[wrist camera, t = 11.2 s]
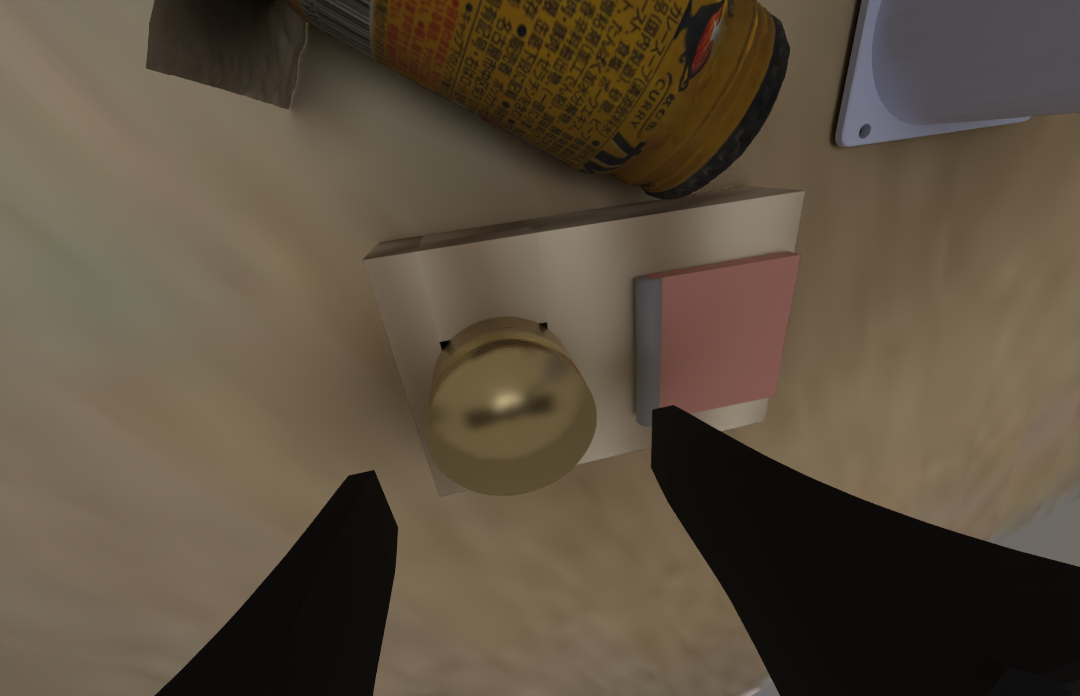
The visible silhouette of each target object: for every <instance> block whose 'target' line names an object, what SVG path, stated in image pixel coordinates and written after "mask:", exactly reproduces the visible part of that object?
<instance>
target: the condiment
mask: <svg viewBox="0 0 1080 696" xmlns="http://www.w3.org/2000/svg"><path fill="white" fill-rule="evenodd" d="M307 22H308V23H309V24H310V25H311V26H313V27H315V28H318V29H320V30H322V31H324V32H326V33H327V34H329V35H331V36H333V37H336V38H338V39H339V40H341V41H343V42H344V43H346V44H348V45H350V46H351V47H353V48H355V49H356V50H358V51H360V52H361V53H363V54H365V55H366V56H368V57H370V58H372V59H374V60H377V61H379V62H381V63H383V64H385V65H387V66H388V67H390V68H391V69H392V70H394V71H395V72H397V73H399V74H401V75H403V76H405V77H407V78H409V79H411V80H413V81H416V82H417V83H418V84H419V85H420V86H421V87H423V88H425V89H428V90H434V91H436V92H437V93H439V94H440V95H442V96H443V97H445V98H447V99H449V100H451V101H452V102H454V103H456V104H458V105H459V106H461V107H463V108H466V109H468V110H470V111H471V112H473V113H475V114H477V115H479V116H481V117H482V118H483V119H484V120H486V121H487V122H491V123H494V124H495V125H497V126H499V127H501V128H503V129H504V130H506V131H508V132H510V133H512V134H513V135H515V136H517V137H519V138H521V139H522V140H524V141H527V142H528V143H529V144H530V145H531V146H533V147H536V148H538V149H541V150H542V151H544V152H546V153H548V154H550V155H551V156H553V157H555V158H557V159H559V160H561V161H563V162H564V163H566V164H568V165H570V166H571V167H572V168H573V169H577V170H579V171H581V172H584V173H586V174H603V173H611V174H612V175H613V176H615V177H616V178H618V179H619V180H621V181H622V182H624V183H626V184H631V185H638V186H640V187H641V188H642V189H643V190H644V191H645V193H646V194H648V195H650V196H653V197H656V198H661V199H665V200H670V199H679V198H682V197H684V196H686V195H689V194H691V193H692V192H694V191H697V190H698V189H700V188H702V187H703V186H705V185H706V184H708V183H709V182H710V181H711V180H713V179H714V178H716V177H717V176H718V175H719V174H721V173H722V172H723V171H725V170H726V169H727V168H728V167H729V166H730V165H731V164H732V163H733V162H734V161H735V160H736V159H737V158H739V157H740V156H741V155H742V154H743V152H744V151H745V149H746V148H747V147H748V145H749V144H750V143H751V142H752V140H753V139H754V138H755V136H756V135H757V134H758V132H759V131H760V129H761V127H762V126H763V124H764V122H765V121H766V119H767V117H768V116H769V114H770V112H771V110H772V107H773V105H774V102H775V101H776V99H777V96H778V93H779V91H780V88H781V85H782V82H783V80H784V78H785V74H786V70H787V64H788V58H789V53H790V47H789V44H788V42H787V39H786V35H785V32H784V29H783V26H782V23H781V21H780V20H779V19H777V18H776V17H775V16H773V15H771V14H770V13H769V12H768V11H767V10H766V8H764V7H762V6H761V5H760V4H759V3H758V2H757V0H155V1H154V6H153V10H152V14H151V18H150V22H149V38H148V53H147V62H146V68H147V69H150V70H154V71H158V72H161V73H164V74H168V75H175V76H178V77H181V78H184V79H188V80H192V81H195V82H199V83H202V84H205V85H210V86H212V87H217V88H220V89H224V90H227V91H230V92H233V93H236V94H240V95H244V96H247V97H250V98H253V99H256V100H260V101H262V102H266V103H270V104H274V105H276V106H279V107H282V108H285V109H289V107H290V103H291V97H292V92H293V90H294V88H295V85H296V80H297V70H298V60H299V56H300V52H301V51H302V49H303V46H304V43H305V37H306V32H305V31H306V23H307Z"/></svg>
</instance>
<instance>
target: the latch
mask: <svg viewBox="0 0 1080 696" xmlns="http://www.w3.org/2000/svg"><path fill="white" fill-rule="evenodd" d="M800 256H801V255H800V254H797V253H793V252H790V251H786V252H780V253H774V254H768V255H762V256H756V257H750V258H744V259H738V260H732V261H726V262H720V263H714V264H708V265H702V266H696V267H690V268H684V269H678V270H672V271H666V272H660V273H654V274H648V275H642V276H639V277H637V278H635V327H636V421H637V423H638V424H640V425H641V426H645V427H652V410H653V409H657V408H662V407H666V406H671V405H675V406H677V407H679V408H681V409H682V410H684V411H686V412H688V413H690V414H691V413H696V412H701V411H706V410H711V409H716V408H721V407H726V406H730V405H735V404H740V403H745V402H750V401H755V400H760V399H765V398H770V397H774V396H775V392H776V387H777V381H778V376H779V371H780V365H781V360H782V354H783V349H784V343H785V338H786V332H787V327H788V322H789V316H790V311H791V305H792V300H793V294H794V289H795V284H796V278H797V273H798V267H799V262H800Z"/></svg>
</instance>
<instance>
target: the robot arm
mask: <svg viewBox="0 0 1080 696" xmlns="http://www.w3.org/2000/svg"><path fill="white" fill-rule="evenodd" d="M1068 113H1080V0H862V1H861V7H860V12H859V17H858V22H857V27H856V32H855V37H854V42H853V47H852V52H851V57H850V62H849V68H848V73H847V78H846V83H845V88H844V93H843V98H842V103H841V108H840V113H839V118H838V124H837V129H836V134H835V141H836V144H837V145H838V146H839V147H852V146H859V145H866V144H873V143H880V142H887V141H893V140H900V139H907V138H914V137H921V136H928V135H935V134H942V133H949V132H956V131H963V130H970V129H977V128H984V127H991V126H997V125H1004V124H1011V123H1018V122H1024V121H1027V120H1028V119H1029V118H1031V117H1032V116H1044V115H1056V114H1068ZM861 127H862V131H861V134H860V136H859V131H860V128H861ZM651 468H652V470H653V472H654V475H655V477H656V479H657V481H658V483H659V485H660V487H661V489H662V491H663V493H664V495H665V497H666V499H667V501H668V503H669V504H670V506H671V508H672V509H673V511H674V512H675V514H676V516H677V517H678V519H679V520H680V522H681V523H682V525H683V527H684V528H685V530H686V531H687V533H688V534H689V536H690V537H691V539H692V540H693V542H694V543H695V545H696V547H697V548H698V550H699V551H700V553H701V554H702V556H703V557H704V559H705V560H706V562H707V563H708V565H709V567H710V568H711V570H712V571H713V573H714V574H715V576H716V577H717V579H718V580H719V582H720V584H721V585H722V587H723V589H724V590H725V592H726V594H727V595H728V597H729V599H730V600H731V602H732V604H733V606H734V608H735V609H736V611H737V613H738V615H739V617H740V619H741V621H742V623H743V625H744V626H745V628H746V630H747V632H748V634H749V636H750V638H751V640H752V641H753V643H754V645H755V647H756V649H757V651H758V653H759V655H760V657H761V659H762V661H763V663H764V665H765V667H766V669H767V671H768V673H769V675H770V677H771V679H772V680H773V682H774V684H775V686H776V688H777V690H778V692H779V694H780V696H1080V567H1078V566H1074V565H1070V564H1066V563H1062V562H1059V561H1055V560H1051V559H1047V558H1043V557H1039V556H1036V555H1032V554H1028V553H1024V552H1020V551H1017V550H1014V549H1010V548H1007V547H1003V546H1000V545H997V544H993V543H990V542H987V541H983V540H980V539H977V538H973V537H970V536H967V535H963V534H960V533H957V532H954V531H951V530H948V529H945V528H942V527H938V526H935V525H932V524H929V523H926V522H923V521H920V520H918V519H915V518H912V517H909V516H906V515H904V514H901V513H898V512H895V511H892V510H890V509H887V508H884V507H881V506H878V505H876V504H873V503H871V502H868V501H865V500H863V499H860V498H858V497H855V496H853V495H850V494H848V493H846V492H843V491H841V490H839V489H836V488H834V487H831V486H829V485H827V484H824V483H822V482H820V481H817V480H815V479H813V478H811V477H808V476H806V475H804V474H802V473H800V472H798V471H796V470H793V469H791V468H789V467H787V466H785V465H783V464H781V463H779V462H777V461H775V460H773V459H771V458H769V457H767V456H765V455H763V454H761V453H759V452H757V451H756V450H754V449H752V448H750V447H748V446H746V445H744V444H743V443H741V442H739V441H737V440H735V439H733V438H732V437H730V436H728V435H726V434H725V433H723V432H721V431H719V430H717V429H716V428H714V427H712V426H710V425H709V424H707V423H705V422H703V421H702V420H700V419H698V418H697V417H695V416H693V415H691V414H690V413H688V412H686V411H684V410H682V409H681V408H679V407H677V406H675V405H671V406H666V407H662V408H657V409H653V410H652V448H651ZM397 536H398V526H397V524H396V521H395V519H394V517H393V514H392V512H391V509H390V507H389V504H388V502H387V500H386V497H385V495H384V492H383V490H382V488H381V485H380V483H379V480H378V478H377V475H376V473H375V471H374V470H372V471H368V472H363V473H359V474H354V475H349V476H348V477H347V478H346V480H345V481H344V482H343V483H342V484H341V486H340V487H339V488H338V490H337V491H336V492H335V493H334V495H333V496H332V497H331V499H330V500H329V501H328V502H327V504H326V505H325V506H324V508H323V509H322V510H321V512H320V513H319V514H318V515H317V517H316V518H315V519H314V521H313V522H312V523H311V524H310V526H309V527H308V528H307V529H306V531H305V532H304V533H303V534H302V536H301V537H300V538H299V539H298V541H297V542H296V543H295V544H294V546H293V547H292V548H291V549H290V551H289V552H288V553H287V554H286V556H285V557H284V558H283V559H282V560H281V561H280V563H279V564H278V565H277V566H276V567H275V568H274V570H273V571H272V572H271V573H270V574H269V575H268V577H267V578H266V579H265V580H264V581H263V582H262V584H261V585H260V586H259V587H258V588H257V589H256V591H255V592H254V593H253V594H252V595H251V596H250V598H249V599H248V600H247V601H246V602H245V603H244V605H243V606H242V607H241V608H240V609H239V610H238V611H237V612H236V613H235V614H234V616H233V617H232V618H231V619H230V620H229V621H228V622H227V623H226V624H225V625H224V626H223V627H222V629H221V630H220V631H219V632H218V633H217V634H216V635H215V636H214V637H213V638H212V639H211V640H210V641H209V642H208V643H207V644H206V645H205V646H204V647H203V648H202V649H201V650H200V651H199V652H198V653H197V654H196V656H195V657H194V658H193V659H192V660H191V661H190V662H189V663H188V664H187V665H186V666H185V667H184V668H183V669H182V670H181V671H180V672H179V673H178V674H177V675H176V676H175V677H174V678H173V679H172V680H171V681H170V682H168V683H167V684H166V685H165V686H164V687H163V688H162V689H161V690H160V691H159V692H158V693H157V694H156V695H155V696H373V691H374V685H375V678H376V673H377V667H378V662H379V656H380V651H381V646H382V640H383V635H384V630H385V624H386V619H387V614H388V608H389V603H390V597H391V592H392V586H393V580H394V575H395V567H396V554H397Z"/></svg>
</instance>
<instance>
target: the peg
mask: <svg viewBox="0 0 1080 696" xmlns="http://www.w3.org/2000/svg"><path fill="white" fill-rule="evenodd" d="M596 423H597V410H596V405H595V401H594V398H593V395H592V393H591V391H590V389H589V388H588V386H587V384H586V382H585V381H584V379H583V377H582V376H581V374H580V372H579V370H578V369H577V367H576V365H575V364H574V362H573V360H572V359H571V357H570V355H569V353H568V352H567V350H566V348H565V347H564V345H563V343H562V342H561V341H560V340H559V338H558V337H557V336H556V335H555V334H554V333H553V332H552V331H550V330H549V329H547V328H546V327H544V326H543V325H541V324H539V323H537V322H534V321H531V320H528V319H524V318H520V317H510V316H506V317H494V318H488V319H485V320H482V321H479V322H476V323H474V324H472V325H470V326H468V327H466V328H464V329H463V330H461V331H460V332H459V333H457V334H456V335H455V336H454V337H453V338H452V339H451V340H450V341H449V342H448V343H447V344H446V345H445V347H444V348H443V349H442V351H441V353H440V354H439V356H438V358H437V361H436V363H435V366H434V370H433V375H432V384H431V393H430V401H429V410H428V418H427V429H426V437H427V445H428V448H429V452H430V454H431V456H432V458H433V460H434V462H435V464H436V465H437V466H438V468H439V469H440V470H441V471H442V472H443V473H444V474H445V475H446V476H447V477H448V478H449V479H451V480H452V481H453V482H455V483H457V484H458V485H460V486H462V487H464V488H466V489H469V490H471V491H475V492H478V493H483V494H488V495H499V496H501V495H516V494H522V493H527V492H531V491H534V490H537V489H540V488H542V487H544V486H547V485H549V484H551V483H553V482H554V481H556V480H558V479H559V478H561V477H562V476H564V475H565V474H566V473H568V472H569V471H570V470H571V469H572V468H573V467H574V466H575V465H576V464H577V463H578V462H579V461H580V460H581V458H582V457H583V456H584V454H585V453H586V451H587V450H588V448H589V446H590V444H591V442H592V439H593V437H594V433H595V429H596Z"/></svg>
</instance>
